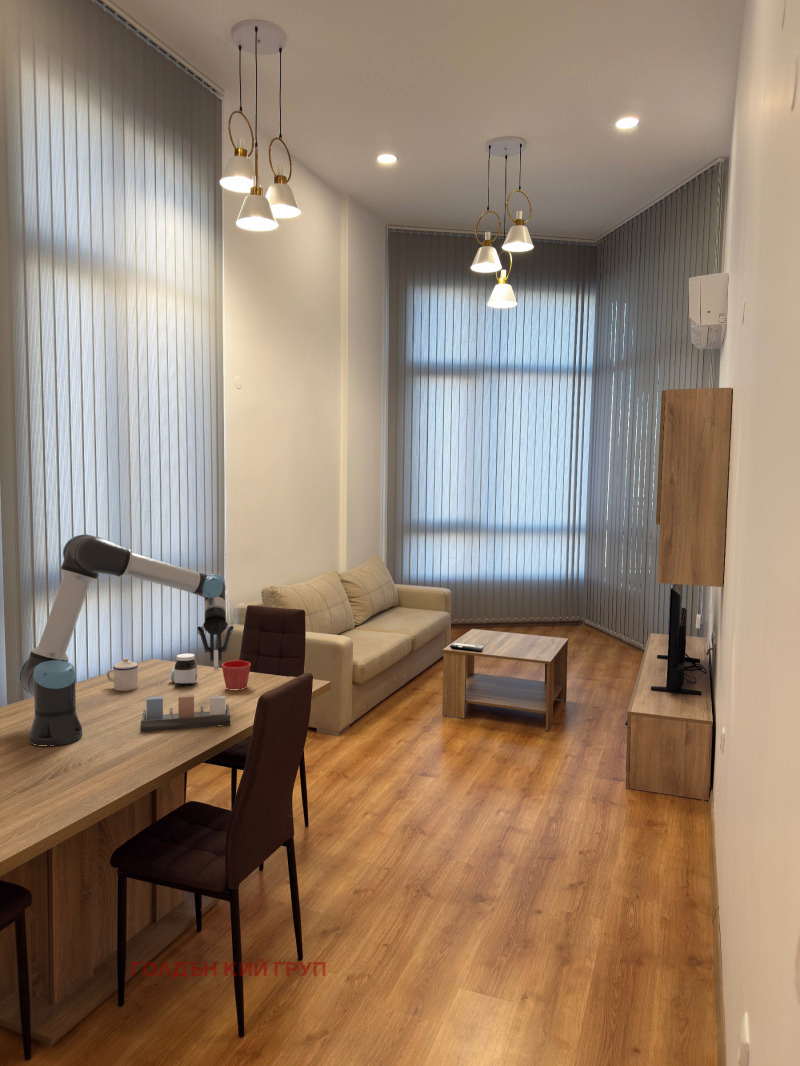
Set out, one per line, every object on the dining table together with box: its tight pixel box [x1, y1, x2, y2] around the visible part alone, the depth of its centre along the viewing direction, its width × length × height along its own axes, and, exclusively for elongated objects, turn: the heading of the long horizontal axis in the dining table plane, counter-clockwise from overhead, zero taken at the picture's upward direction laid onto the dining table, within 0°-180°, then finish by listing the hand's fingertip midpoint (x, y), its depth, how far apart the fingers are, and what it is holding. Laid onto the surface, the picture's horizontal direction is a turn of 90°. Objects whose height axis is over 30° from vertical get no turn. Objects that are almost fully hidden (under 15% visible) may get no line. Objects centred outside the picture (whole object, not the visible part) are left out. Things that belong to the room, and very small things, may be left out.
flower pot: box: [221, 659, 252, 689], centre depth 291 cm, size 11×11×10 cm
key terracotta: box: [177, 694, 195, 718], centre depth 250 cm, size 2×5×7 cm, turn 105°
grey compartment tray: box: [140, 704, 231, 733], centre depth 250 cm, size 12×28×4 cm, turn 105°
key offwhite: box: [209, 695, 226, 716], centre depth 249 cm, size 2×5×7 cm, turn 105°
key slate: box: [146, 696, 164, 720], centre depth 247 cm, size 2×5×7 cm, turn 105°
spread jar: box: [168, 653, 198, 688], centre depth 297 cm, size 12×11×12 cm
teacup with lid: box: [106, 657, 139, 692], centre depth 290 cm, size 12×9×12 cm
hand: (216, 668), depth 259 cm, fingers closed
